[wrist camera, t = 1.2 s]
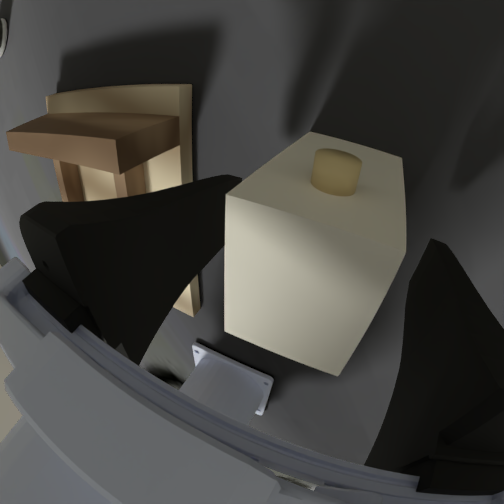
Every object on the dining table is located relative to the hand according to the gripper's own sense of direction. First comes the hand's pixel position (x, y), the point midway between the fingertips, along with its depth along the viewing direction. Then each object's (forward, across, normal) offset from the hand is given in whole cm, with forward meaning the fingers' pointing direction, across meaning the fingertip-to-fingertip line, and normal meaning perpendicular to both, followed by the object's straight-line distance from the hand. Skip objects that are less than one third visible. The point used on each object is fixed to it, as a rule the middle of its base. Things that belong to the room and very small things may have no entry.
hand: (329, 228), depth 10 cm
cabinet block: (+3, 0, 0) cm, 3 cm away
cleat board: (+3, +15, +4) cm, 16 cm away
